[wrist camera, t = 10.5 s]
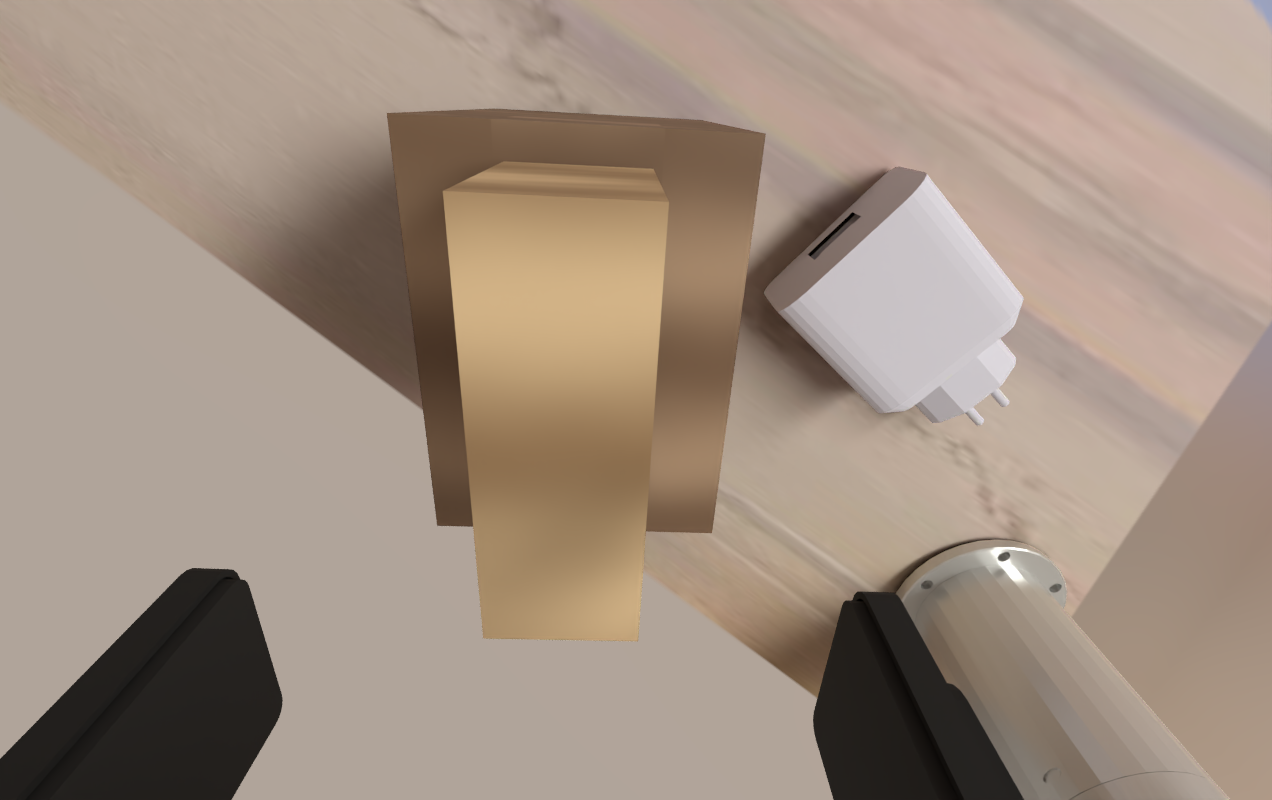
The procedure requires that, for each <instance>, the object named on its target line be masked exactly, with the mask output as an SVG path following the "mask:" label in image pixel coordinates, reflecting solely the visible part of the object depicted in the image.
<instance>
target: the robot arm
mask: <svg viewBox="0 0 1272 800" xmlns="http://www.w3.org/2000/svg"><path fill="white" fill-rule="evenodd" d="M1066 597H1067V588H1066V582H1065V579H1064V577H1063V575H1062V573H1061V571H1060V570H1059V568H1058V567H1057V566H1056V565H1055V564H1054V563H1053V562H1052V561H1051V559H1050V558H1049V557H1047V556H1046V555H1045V554H1044V553H1042V552H1041V551H1040V550H1038V549H1036V548H1034V547H1032V546H1030V545H1028V544H1025V543H1020V542H1016V541H1012V540H997V539H995V540H983V541H976V542H972V543H967V544H963V545H960V546H957V547H954V548H952V549H949V550H946V551H944V552H942V553H940V554H938V555H937V556H935V557H933V558H931V559H929V560H928V561H926V562H925V563H924V564H922V565H921V566H920V567H918V568H917V569H916V570H915V571H914V572H913V573H912V574H911V575H910V576H909V577H908V578H907V579H906V580H905V581H904V582H903V584H902V585H901V587H900V588H899V589H898V591H897V592H896V594H895V593H886V592H857V593H856V594H855V595H854V598H853V600H852V601H845V602H844V603H843V605H842V608H841V612H840V616H839V620H838V623H837V627H836V631H835V635H834V638H833V642H832V646H831V650H830V654H829V657H828V661H827V665H826V669H825V672H824V676H823V680H822V684H821V687H820V691H819V695H818V699H817V703H816V706H815V710H814V717H813V723H814V732H815V737H816V741H817V744H818V748H819V751H820V755H821V758H822V761H823V765H824V768H825V772H826V775H827V778H828V782H829V785H830V789H831V792H832V795H833V799H834V800H1230V799H1229V798H1228V796H1227V795H1226V794H1225V793H1224V792H1223V791H1222V789H1221V788H1220V787H1219V786H1218V785H1217V784H1216V783H1215V782H1214V781H1213V780H1212V779H1211V777H1210V776H1209V775H1208V774H1207V773H1206V772H1205V770H1204V769H1203V768H1202V767H1201V766H1200V765H1199V764H1198V762H1197V761H1196V760H1195V759H1194V758H1193V757H1192V756H1191V754H1190V753H1189V752H1188V751H1187V750H1186V749H1185V748H1184V746H1183V745H1182V744H1181V743H1180V742H1179V741H1178V740H1177V739H1176V737H1175V736H1174V735H1173V734H1172V733H1171V731H1170V730H1169V729H1168V728H1167V727H1166V726H1165V725H1164V723H1163V722H1162V721H1161V720H1160V719H1159V718H1158V717H1157V715H1156V714H1155V713H1154V712H1153V711H1152V710H1151V709H1150V707H1149V706H1148V705H1147V704H1146V703H1145V702H1144V701H1143V699H1142V698H1141V697H1140V696H1139V695H1138V694H1137V693H1136V691H1135V690H1134V689H1133V688H1132V687H1131V686H1130V684H1129V683H1128V682H1127V681H1126V680H1125V679H1124V678H1123V676H1122V675H1121V674H1120V673H1119V672H1118V671H1117V670H1116V669H1115V667H1114V666H1113V665H1112V664H1111V663H1110V662H1109V660H1108V659H1107V658H1106V657H1105V656H1104V655H1103V654H1102V652H1101V651H1100V650H1099V649H1098V648H1097V647H1096V646H1095V644H1094V643H1093V642H1092V641H1091V640H1090V639H1089V638H1088V636H1087V635H1086V634H1085V633H1084V632H1083V631H1082V629H1080V627H1079V626H1078V625H1077V624H1076V623H1075V621H1074V620H1073V619H1072V618H1071V617H1070V616H1069V615H1068V613H1067V612H1066V611H1065V610H1064V607H1065V604H1066ZM281 708H282V694H281V691H280V687H279V684H278V681H277V678H276V674H275V671H274V668H273V664H272V661H271V658H270V654H269V651H268V648H267V644H266V641H265V638H264V634H263V631H262V628H261V625H260V621H259V618H258V614H257V611H256V608H255V605H254V601H253V598H252V594H251V591H250V588H249V585H248V583H247V582H246V581H245V580H240V578H239V576H238V574H237V573H236V572H235V571H234V570H229V569H201V568H192V569H189V570H187V571H185V572H184V573H183V574H181V575H180V576H179V577H178V578H177V579H176V580H175V581H174V582H173V583H172V584H171V585H170V586H169V587H168V588H167V589H166V591H165V592H164V593H163V594H162V595H161V596H160V597H159V598H158V599H157V600H156V601H155V602H154V603H153V604H152V605H151V606H150V607H149V608H148V609H147V610H146V611H145V612H144V613H143V614H142V615H141V616H140V617H139V618H138V619H137V620H136V621H135V622H134V623H133V624H132V625H131V626H130V627H129V628H128V629H127V630H126V631H125V632H124V633H123V634H122V635H121V636H120V637H119V639H117V640H116V641H115V643H113V644H112V646H111V647H110V648H109V649H108V650H107V651H106V652H105V653H104V654H103V655H102V656H101V657H100V658H99V659H98V660H97V661H96V662H95V663H94V664H93V665H92V666H91V667H90V668H89V669H88V670H87V671H86V672H85V673H84V674H83V675H82V676H81V677H80V678H79V679H78V680H77V681H76V682H75V683H74V684H73V685H72V686H71V687H70V688H69V689H68V690H67V692H65V693H64V694H63V695H62V696H61V697H60V699H59V700H58V701H57V702H56V703H55V704H54V705H53V706H52V707H51V708H50V709H49V710H48V711H47V712H46V713H45V714H44V715H43V716H42V717H41V718H40V719H39V720H38V721H37V722H36V723H35V724H34V725H33V726H32V727H31V728H30V729H29V730H28V731H27V732H26V733H25V734H24V735H23V736H22V737H21V738H20V739H19V740H18V741H17V742H16V743H15V744H14V745H13V746H12V748H11V749H10V750H8V751H7V753H6V754H5V755H4V756H3V757H2V758H1V759H0V800H231V799H232V798H233V796H234V794H235V793H236V791H237V789H238V787H239V786H240V784H241V782H242V781H243V779H244V777H245V776H246V774H247V772H248V770H249V768H250V767H251V765H252V764H253V762H254V760H255V758H256V757H257V755H258V753H259V751H260V750H261V748H262V747H263V745H264V743H265V741H266V739H267V738H268V736H269V735H270V733H271V731H272V729H273V728H274V726H275V724H276V722H277V720H278V718H279V715H280V713H281Z"/></svg>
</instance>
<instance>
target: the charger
mask: <svg viewBox="0 0 1272 800" xmlns="http://www.w3.org/2000/svg"><path fill="white" fill-rule="evenodd" d="M852 212H853V213H855V215H854V216H853V217H852V218H851V219H850V220H849V221H848V222H847V223H846V224H845V225H844V226H843V227H841V228H840V229H839V230H838V231H837V232H836V233H835V234H834V235H833V236H832V237H831V238H830V239H829V240H828V241H827V242H826V243H824V244H823V245H822V246H821V247H820V248H819V249H818V250H817V251H816V252H815V253H814V254H813V255H812V256H811V257H810V256H809V255H808V254H809V253H810V252H811V251H812V250H813V249H814V248H815V247H816V246H817V245H818V244H819V243H820V242H821V241H822V240H823V239H825V238H826V237H827V236H828V235H829V234H830V233H831V232H832V231H833V230H834V229H835V228H836V227H837V226H838V225H839V224H840V223H841V222H843V221H844V220H845V219H846V218H847V217H848V216H849V215H850V214H851V213H852ZM764 295H765V296H766V298H767V299H768V300H769V302H770V303H771V304H772V306H773V307H774V309H775V310H776V311H777V312H778V313H779V314H780V315H781V316H782V317H783V318H784V319H785V320H786V321H787V322H788V323H789V324H790V325H791V326H792V327H793V328H794V329H795V330H796V331H797V332H798V333H799V334H800V335H801V336H802V337H803V338H804V339H805V340H806V341H807V342H808V343H809V344H810V345H811V346H812V347H813V348H814V349H815V350H816V351H817V352H818V353H819V354H820V355H821V356H822V357H823V358H824V360H825V361H826V362H827V363H828V364H829V365H830V366H831V367H832V368H833V369H834V370H835V371H836V372H837V373H838V374H839V375H840V376H841V377H842V378H843V379H844V380H845V381H846V382H847V383H848V384H849V385H850V386H851V387H852V388H853V389H854V390H855V391H856V392H857V393H858V394H859V395H860V396H861V397H862V398H863V399H864V400H865V401H866V402H867V403H868V404H869V405H870V406H871V407H872V408H873V409H874V410H875V411H876V412H878V413H889V412H902V411H906V410H908V409H910V408H912V407H913V406H914V405H916V406H917V407H918V408H919V410H920V411H921V412H922V413H923V414H924V415H925V416H926V417H927V418H928V419H929V420H930V421H931V422H932V423H937V422H943V421H945V420H948V419H951V418H953V417H956V416H959V415H961V414H964V413H966V414H967V415H968V417H969V418H970V419H971V420H972V421H973V422H974V423H975V424H976V425H981V424H983V422H984V419H983V418H982V417H981V416H980V415H979V413H978V412H977V411H976V410H975V409H974V408H973V407H974V406H975V405H976V404H978V403H979V402H980V401H982V400H983V399H984V398H986V397H987V396H988V395H990V394H991V395H992V396H993V398H994V399H995V400H996V401H997V402H998V403H999V404H1000V406H1002V407H1004V406H1007V405H1008V404H1009V400H1008V399H1007V398H1006V396H1005V395H1004V394H1003V393H1002V392H1001V391H1000V389H999V387H1000V386H1001V385H1002V384H1003V382H1004V381H1005V380H1006V378H1007V377H1008V375H1009V374H1010V372H1011V371H1012V369H1013V368H1014V366H1015V363H1016V357H1015V356H1014V355H1013V354H1012V352H1011V351H1010V350H1009V349H1008V348H1007V346H1006V345H1005V344H1004V343H1003V342H1002V340H1001V339H1000V338H1001V337H1002V336H1004V335H1005V334H1006V333H1007V332H1008V331H1010V330H1011V329H1012V328H1013V326H1014V325H1015V323H1016V320H1017V317H1018V314H1019V311H1020V308H1021V305H1022V302H1023V299H1024V298H1023V297H1022V295H1021V294H1020V293H1019V291H1018V290H1017V289H1016V287H1015V286H1014V285H1013V284H1012V282H1011V281H1010V280H1009V279H1008V277H1007V276H1006V275H1005V273H1004V272H1003V271H1002V270H1001V268H1000V267H999V266H998V264H997V263H996V262H995V261H994V259H993V258H992V257H991V256H990V254H989V253H988V252H987V250H986V249H985V248H984V247H983V245H982V244H981V243H980V241H979V240H978V239H977V238H976V236H975V235H974V234H973V233H972V231H971V230H970V229H969V227H968V226H967V225H966V224H965V222H964V221H963V220H962V218H961V217H960V216H959V215H958V213H957V212H956V211H955V209H954V208H953V207H952V206H951V204H950V203H949V202H948V201H947V199H946V198H945V197H944V195H943V194H942V193H941V192H940V190H939V189H938V188H937V186H936V185H935V184H934V183H933V181H932V180H931V179H930V178H929V176H928V175H927V174H926V173H925V172H921V171H916V170H912V169H907V168H903V167H895V168H894V169H892V170H890V171H889V172H887V173H886V174H884V175H883V176H882V177H881V178H880V179H879V180H878V181H877V182H876V183H875V184H874V185H873V186H871V187H870V188H869V189H868V190H867V191H866V192H865V193H864V194H863V195H862V196H861V197H860V198H859V199H858V200H857V201H856V202H855V203H853V204H852V205H851V206H850V207H849V208H848V209H847V210H846V211H845V212H844V213H843V214H842V215H841V216H840V217H839V218H838V219H837V220H836V221H835V222H833V223H832V224H831V225H830V226H829V227H828V228H827V229H826V230H825V231H824V232H823V233H822V234H821V235H820V236H819V237H818V238H817V239H816V240H814V241H813V242H812V243H811V244H810V245H809V246H808V247H807V248H806V249H805V250H804V251H803V252H802V253H801V254H800V255H799V256H798V257H797V258H796V259H794V260H793V261H792V262H791V263H790V264H789V265H788V266H787V267H786V268H785V269H784V270H783V271H782V272H781V273H780V274H779V275H778V276H777V277H776V278H775V279H774V280H773V281H771V282H770V283H769V285H768V286H767V287H766V289H765V291H764Z"/></svg>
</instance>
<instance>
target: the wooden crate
mask: <svg viewBox="0 0 1272 800" xmlns="http://www.w3.org/2000/svg"><path fill="white" fill-rule="evenodd" d="M387 118H388V126H389V135H390V143H391V151H392V159H393V167H394V175H395V184H396V192H397V200H398V208H399V216H400V224H401V233H402V241H403V249H404V257H405V265H406V274H407V282H408V290H409V298H410V306H411V314H412V323H413V331H414V339H415V347H416V355H417V363H418V372H419V380H420V388H421V396H422V404H423V413H424V420H425V428H426V437H427V445H428V453H429V462H430V470H431V478H432V486H433V494H434V502H435V510H436V519H437V525H438V526H473V518H472V507H471V496H470V485H469V474H468V463H467V452H466V441H465V430H464V419H463V408H462V397H461V386H460V375H459V364H458V353H457V342H456V331H455V320H454V309H453V298H452V287H451V276H450V265H449V254H448V243H447V232H446V221H445V210H444V199H443V191H444V190H446V189H448V188H450V187H452V186H454V185H456V184H458V183H460V182H462V181H464V180H466V179H468V178H470V177H472V176H475V175H477V174H479V173H481V172H483V171H485V170H487V169H489V168H491V167H493V166H495V165H497V164H499V163H501V162H503V161H507V162H527V163H546V164H566V165H586V166H606V167H626V168H646V169H654V171H655V173H656V175H657V178H658V180H659V182H660V184H661V186H662V188H663V190H664V192H665V194H666V197H667V199H668V201H669V209H668V223H667V238H666V252H665V266H664V280H663V294H662V309H661V323H660V337H659V351H658V365H657V380H656V394H655V408H654V422H653V436H652V450H651V465H650V479H649V493H648V507H647V521H646V531H655V532H692V533H712V528H713V521H714V513H715V506H716V499H717V491H718V484H719V476H720V469H721V461H722V454H723V447H724V439H725V432H726V424H727V417H728V409H729V402H730V395H731V387H732V380H733V372H734V365H735V357H736V350H737V343H738V335H739V328H740V320H741V313H742V305H743V298H744V291H745V283H746V276H747V268H748V261H749V253H750V246H751V239H752V231H753V224H754V216H755V209H756V201H757V194H758V186H759V179H760V172H761V164H762V157H763V149H764V142H765V134H764V133H759V132H754V131H750V130H745V129H740V128H735V127H731V126H726V125H721V124H717V123H712V122H707V121H703V120H687V119H669V118H651V117H633V116H615V115H597V114H579V113H561V112H543V111H525V110H507V109H476V110H452V111H427V112H403V113H387Z"/></svg>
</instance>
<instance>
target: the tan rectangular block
mask: <svg viewBox="0 0 1272 800" xmlns="http://www.w3.org/2000/svg"><path fill="white" fill-rule="evenodd" d="M443 199H444V210H445V221H446V232H447V243H448V254H449V265H450V276H451V287H452V298H453V309H454V320H455V331H456V342H457V353H458V364H459V375H460V386H461V397H462V408H463V419H464V430H465V441H466V452H467V463H468V474H469V485H470V496H471V507H472V518H473V529H474V540H475V552H476V563H477V574H478V585H479V595H480V607H481V617H482V628H483V638H486V639H488V638H489V639H540V640H594V641H595V640H596V641H598V640H599V641H638V634H639V621H640V607H641V592H642V578H643V564H644V550H645V536H646V521H647V507H648V493H649V479H650V465H651V450H652V436H653V422H654V408H655V394H656V380H657V365H658V351H659V337H660V323H661V309H662V294H663V280H664V266H665V252H666V238H667V223H668V209H669V201H668V199H667V197H666V194H665V192H664V190H663V188H662V186H661V184H660V182H659V180H658V178H657V175H656V173H655V171H654V169H646V168H626V167H606V166H586V165H566V164H546V163H527V162H507V161H503V162H501V163H499V164H497V165H495V166H493V167H491V168H489V169H487V170H485V171H483V172H481V173H479V174H477V175H475V176H472V177H470V178H468V179H466V180H464V181H462V182H460V183H458V184H456V185H454V186H452V187H450V188H448V189H446V190H444V191H443Z"/></svg>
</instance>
